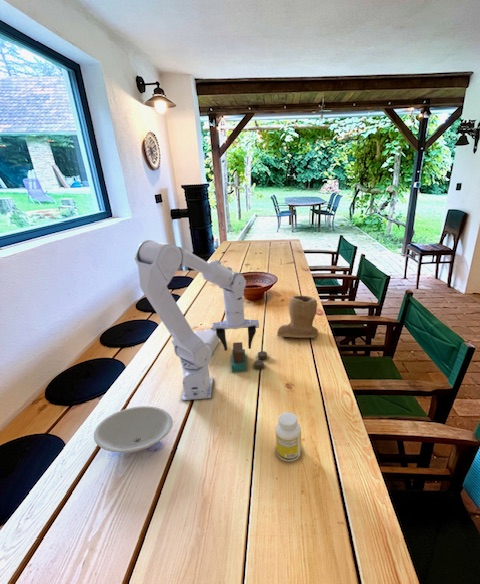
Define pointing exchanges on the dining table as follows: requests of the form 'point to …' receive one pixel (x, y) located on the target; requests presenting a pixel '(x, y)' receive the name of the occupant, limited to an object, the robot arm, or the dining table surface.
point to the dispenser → (208, 338)
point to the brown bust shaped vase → (300, 318)
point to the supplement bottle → (288, 437)
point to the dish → (133, 429)
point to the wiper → (238, 358)
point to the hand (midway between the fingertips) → (237, 348)
